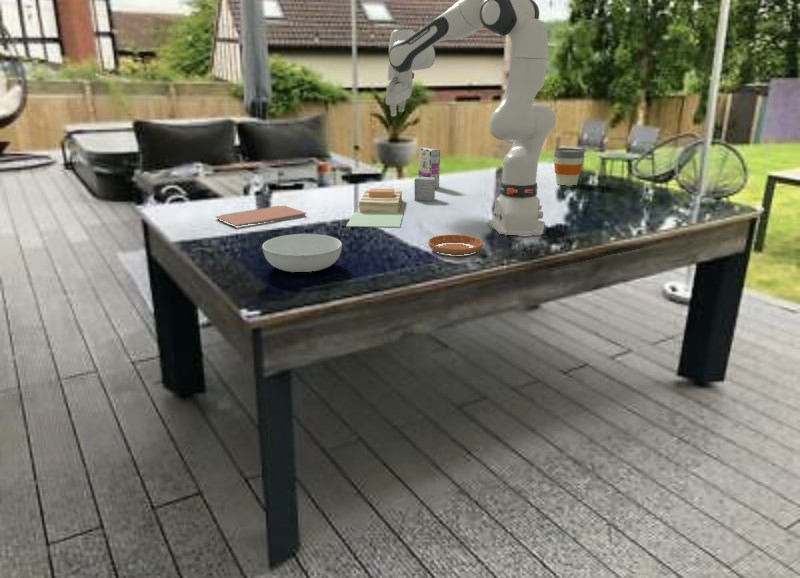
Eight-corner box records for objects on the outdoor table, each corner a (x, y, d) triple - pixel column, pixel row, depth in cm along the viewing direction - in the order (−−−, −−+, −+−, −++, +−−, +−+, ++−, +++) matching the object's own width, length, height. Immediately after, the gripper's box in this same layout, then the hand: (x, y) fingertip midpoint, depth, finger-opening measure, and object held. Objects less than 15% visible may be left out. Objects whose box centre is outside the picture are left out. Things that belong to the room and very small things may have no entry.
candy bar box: (439, 188, 271) (440, 149, 266) (429, 189, 269) (430, 150, 264) (428, 184, 281) (428, 146, 275) (417, 185, 279) (418, 147, 273)
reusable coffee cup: (546, 182, 284) (549, 148, 278) (571, 181, 287) (574, 147, 282) (561, 187, 272) (564, 152, 267) (586, 186, 276) (590, 151, 271)
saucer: (457, 240, 195) (458, 231, 194) (494, 252, 183) (494, 242, 182) (417, 249, 186) (417, 239, 185) (452, 262, 174) (453, 252, 173)
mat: (399, 227, 209) (399, 226, 209) (346, 226, 210) (346, 225, 210) (403, 213, 228) (403, 212, 228) (354, 212, 229) (354, 212, 229)
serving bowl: (319, 285, 157) (318, 258, 154) (248, 275, 164) (246, 249, 162) (355, 261, 175) (354, 237, 173) (290, 253, 182) (288, 230, 180)
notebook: (283, 209, 237) (282, 204, 236) (306, 217, 225) (306, 212, 224) (214, 220, 221) (214, 215, 220) (236, 230, 209) (235, 224, 208)
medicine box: (434, 198, 252) (435, 177, 249) (434, 201, 248) (434, 179, 245) (415, 198, 252) (415, 177, 249) (414, 200, 248) (414, 179, 245)
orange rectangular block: (392, 197, 235) (392, 192, 235) (368, 197, 236) (368, 191, 235) (394, 194, 241) (394, 188, 240) (370, 193, 241) (370, 188, 241)
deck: (397, 213, 228) (397, 202, 227) (359, 213, 229) (359, 202, 228) (401, 200, 249) (401, 190, 247) (366, 200, 250) (366, 190, 248)
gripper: (399, 80, 222) (396, 119, 228) (415, 73, 239) (413, 110, 245) (382, 78, 223) (380, 117, 229) (399, 71, 241) (397, 108, 247)
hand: (397, 113), depth 238 cm, fingers open, 8 cm apart
